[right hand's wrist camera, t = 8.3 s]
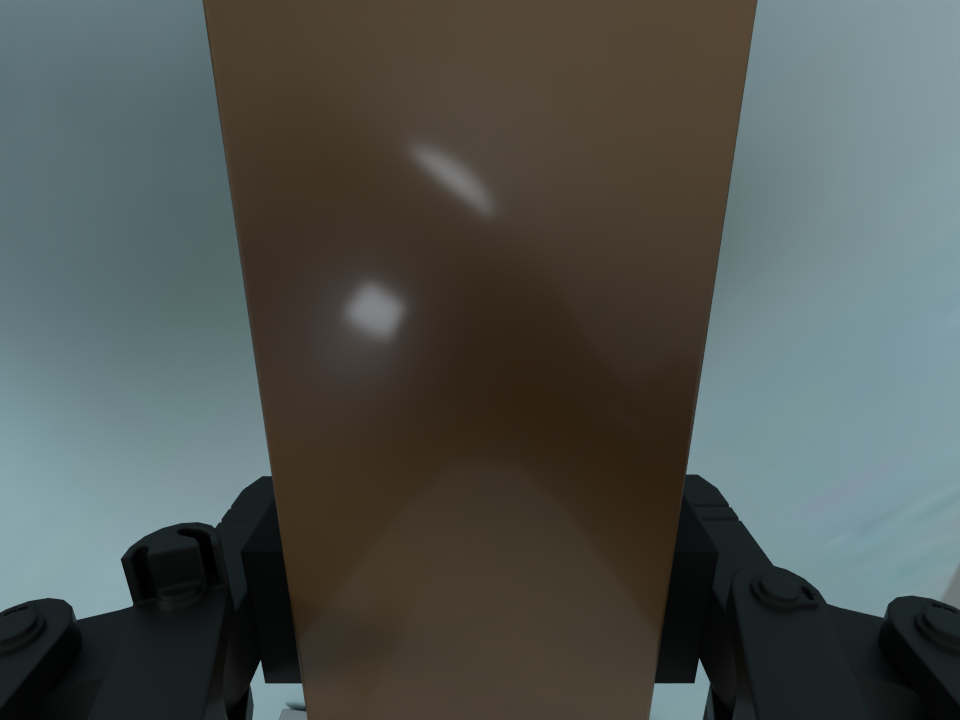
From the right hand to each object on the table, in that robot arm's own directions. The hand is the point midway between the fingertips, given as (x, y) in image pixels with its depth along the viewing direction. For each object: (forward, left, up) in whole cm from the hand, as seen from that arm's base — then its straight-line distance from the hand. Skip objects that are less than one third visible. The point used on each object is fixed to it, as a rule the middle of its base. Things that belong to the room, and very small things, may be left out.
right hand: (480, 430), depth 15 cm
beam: (+25, +11, -1) cm, 27 cm away
